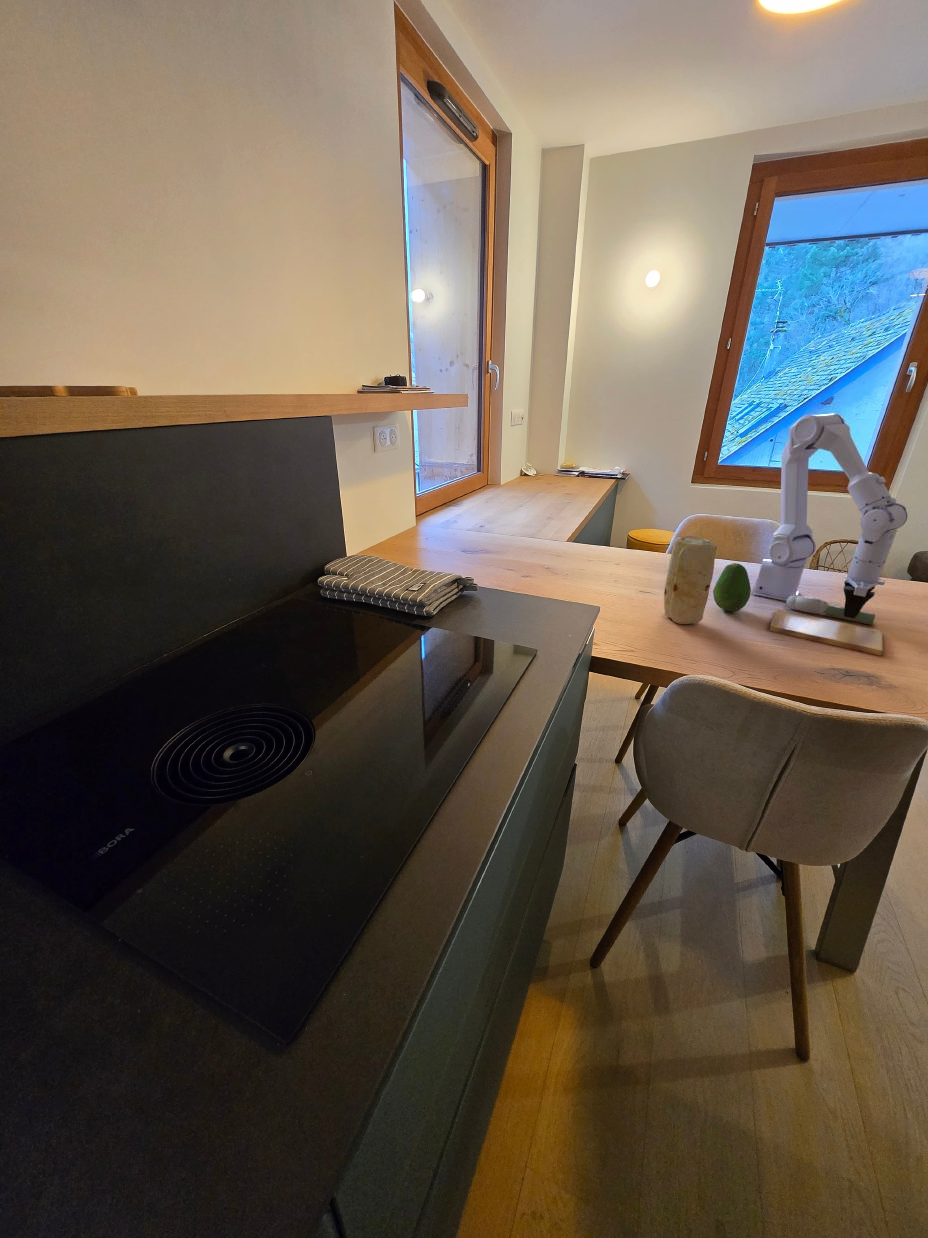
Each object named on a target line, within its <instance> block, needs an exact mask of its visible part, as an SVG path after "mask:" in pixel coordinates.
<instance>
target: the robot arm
mask: <svg viewBox="0 0 928 1238" xmlns="http://www.w3.org/2000/svg"><path fill="white" fill-rule="evenodd" d="M788 429H789V433H788V434H789V435H788V439H787V441H786V443H785V445H784V447H783V450H782V452H781V471H780V473H781V474H780V475H781V476H780V479H781V480H780V483H781V484H780V518H779V519H780V522H779V524H780V526H779V527H778V528H777V529H776V530H775V531H774V533H772V540H771V542H770V545H769V547H768V556H769V558H770V559H767V558H764V559H763V560H762V562H761V565H760V569H759V571H758V576H757V578H756V581H755V584H754V585H755V588H754V591H753V595H754V596H759V597H763V598H764V597H765V598H770V599H775V600H778V601H779V600H780V601H784V602H787V599H788V598H789V597H790V596H792V595H799V594H800V592H799V590H798V589H799V586H800V583H801V579H802V577H803V576H802V575H803V572H804V570H805V565H806V563H807V560H808V559H809V558H811V557H812V556H813V555H814V554H815V553H816V550H817V549H816V548H817V545H816V541H815V540H814V537H813V530H812V528H811V527H810V526H809V525H808V522H807V521H808V493H809V492H808V490H809V489H808V488H809V459H810V458H811V457H812V456H813V455H814V454H815V453H817V452H818V451H819V450H822V451H827V452H830V453H831V454H832V456H833V458H834V459H835V461H836V462H837V464H838V465H839V467H840V468H841V470H842V471H843V472H844V474H845V476H846V477H847V478H848V480H849V482H848V484H847V491H848V493H849V495H850V497H851V498H852V501H853V502H854V503H855V505H856V507H857V509H858V511H859V513H860V514H861V515H862V516H860V518H859V525H860V527H861V530H862V531H861V535H860V537H859V540H858V543H857V546H856V549H855V551H854V555H853V557H852V559H851V563H850V566H849V569H848V571H847V573H846V575H845V577H844V578H845V580H844V583H843V584H844V586H843V593H844V600H845V601H844V607H843V608H844V616H845V617H850V618H855V617H856V616H857V615H858V613H859V612H860V611H862V609H863V607H864V606H865V605H866V603H867V602H869V601H870V600H871V599H872V598H873V597H874V596H875V594H876V592H874V591H873V590H874V589H875V588H876V586H878V585H880V586H885V583H886V580H885V579H881V578H880V577H881V576H882V574H883V573H882V572H883V569H884V568H885V564H886V561H887V559H888V556H889V554H890V551H891V548H892V546H893V543H894V540H895V537H896V535H897V531H898V529H900V528H902V527H903V526H904V525H905V524H906V523H907V520H908V511H907V507H906V506H905V505H903V504H901V503H899V502H897V499H896V498H895V497H893V496H892V495H891V494H890V492H889V491H888V488H887V487H886V485H885V483H886V482H887V480H886V478H885V477H884V476H880V475H879V474H878V473H875V472H870V471H868V468H867V466H866V464H865V462H864V460H863V458H862V455H861V454H860V452H859V450H858V448H857V446H856V443H855V441H854V440H853V438H852V436H851V428H850V426H849V425H848V424H847V423H846V421H845V418H844V417H843V416H842V415H841V414H839V413H836V412H833V413H826V414H806V415H803V416H802V417H800V418H798V420H796V422H795V423H793V424H792V425H791V426H790V427H789V428H788Z"/></svg>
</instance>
